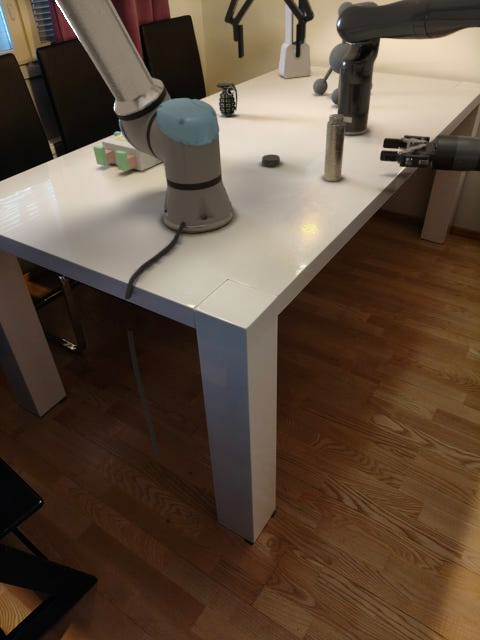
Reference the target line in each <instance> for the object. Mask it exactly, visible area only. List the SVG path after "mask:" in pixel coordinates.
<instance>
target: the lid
mask: <svg viewBox="0 0 480 640" xmlns="http://www.w3.org/2000/svg"><path fill="white" fill-rule="evenodd" d="M280 164H281V156H280V155H278V154H271V153H270V154H265V155H263V156H262V157H261V165H262V166H263V167H265V168H266V167H267V168H274V167H278V166H279V165H280Z"/></svg>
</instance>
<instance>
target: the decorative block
mask: <svg viewBox="0 0 480 640" xmlns="http://www.w3.org/2000/svg"><path fill="white" fill-rule="evenodd" d="M101 145H102V146H100V145H95V146H92V148H93V152H94V153H93V154H94V156H95V161H96V164H97V165H100V166H103V167H104V166H106V165H109V164H112V165H116V166H117V169H118V170H119V171H122V172H123V171H124V172H128V171H129V170H137V171H141V172H143V171H145V170H147V169H150V168H152V167H153V166H156V165H158V164H160V163H163V161H161V160H159V159H157V158H154V157H152V156H150V155H148V154H146V153H143V152H141V151H139V150H137V149H135V148H134V147H133V146H132V145H131V144H130V143H129V142H128V141H127V140H126V139H125V138H124V136H123V134H122V132H121V131H115V132H113V136H112V137H110V138H107V139H105V140H102V141H101Z"/></svg>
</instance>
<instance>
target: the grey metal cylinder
mask: <svg viewBox="0 0 480 640" xmlns="http://www.w3.org/2000/svg"><path fill="white" fill-rule="evenodd" d="M343 120H344V115H341V114H337V113H332V114H330V115H329V116H328V121H327V122H326V137H325V153H324V156H325V157H324V170H323V171H324V172H323V180H325V181H327V182H338V181H341V180H342V172H343V171H342V170H343V158H344V157H343V156H344V147H345V146H344V144H345V121H343Z"/></svg>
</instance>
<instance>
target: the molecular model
mask: <svg viewBox="0 0 480 640" xmlns="http://www.w3.org/2000/svg"><path fill="white" fill-rule="evenodd" d="M352 4H353V3H352V2H351V1H345V2H342V3H341V4H340V5H339V7H338V10H337V15H338V16H339V15H340V14H341V12H342V11H343V10H344V9H345V8H347V7H348V6H350V5H352ZM350 47H351V43H347V42H345V41H344V40H343V39H341V42H340V43H338V44H337V45H335V46H334V47H333V48H332V49H331V52H330V53H329V57H328V63H329V66H330V67H329V69H328V70H327V72H326V73H325V75H324V77H323V78H317V79H316V80H315V81H314V82H313V85H312V90H313V92H314V93H315V94H316V95H319V96H321V95H324V94H325V93H326V92H327V90H328V88H329V84H328V81H327V80H328V79H329V77H330V76H331V74H332V72H334V73H336V74H339V75H338V85H337V88H335V89H334V90H333V91H332V93H331V97H330V99H331V101H332V103H333V104H334V105H335V106H338V99H339V85H340V70H341V60H342V58H343V57H344V56H345V55H346V54H347V53H348V51H349V49H350ZM372 89H373V85H372V86H371V90H372Z"/></svg>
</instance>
